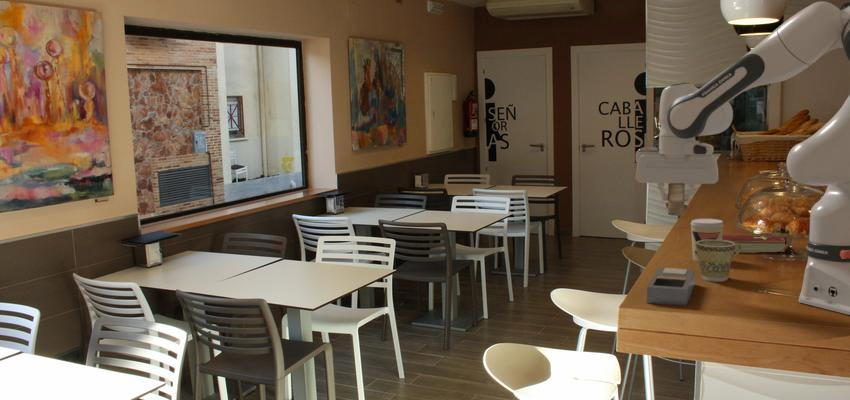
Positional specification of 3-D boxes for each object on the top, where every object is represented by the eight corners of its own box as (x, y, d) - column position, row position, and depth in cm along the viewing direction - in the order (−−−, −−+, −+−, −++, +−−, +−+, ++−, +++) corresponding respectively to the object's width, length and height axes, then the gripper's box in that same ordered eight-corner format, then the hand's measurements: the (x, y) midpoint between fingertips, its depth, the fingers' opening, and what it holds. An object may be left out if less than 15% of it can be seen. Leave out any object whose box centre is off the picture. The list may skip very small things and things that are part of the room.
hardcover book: (710, 246, 255) (711, 233, 254) (778, 247, 250) (779, 234, 250) (716, 253, 243) (716, 240, 243) (787, 254, 239) (788, 241, 238)
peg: (687, 214, 198) (687, 184, 197) (673, 216, 197) (674, 185, 196) (678, 212, 202) (678, 182, 201) (664, 213, 201) (665, 183, 200)
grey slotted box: (686, 305, 184) (686, 288, 183) (646, 302, 188) (646, 285, 187) (694, 284, 204) (694, 268, 203) (658, 282, 207) (658, 266, 207)
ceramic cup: (710, 284, 203) (711, 247, 202) (687, 276, 213) (688, 241, 211) (752, 280, 207) (753, 243, 205) (728, 272, 216) (728, 237, 215)
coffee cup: (687, 261, 231) (688, 222, 229) (692, 255, 239) (693, 217, 237) (720, 264, 226) (721, 224, 225) (724, 258, 235) (725, 219, 233)
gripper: (633, 148, 198) (633, 201, 200) (717, 148, 190) (716, 203, 192) (637, 146, 204) (637, 198, 206) (719, 146, 196) (718, 199, 197)
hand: (676, 200), depth 199 cm, fingers closed on peg, 4 cm apart
